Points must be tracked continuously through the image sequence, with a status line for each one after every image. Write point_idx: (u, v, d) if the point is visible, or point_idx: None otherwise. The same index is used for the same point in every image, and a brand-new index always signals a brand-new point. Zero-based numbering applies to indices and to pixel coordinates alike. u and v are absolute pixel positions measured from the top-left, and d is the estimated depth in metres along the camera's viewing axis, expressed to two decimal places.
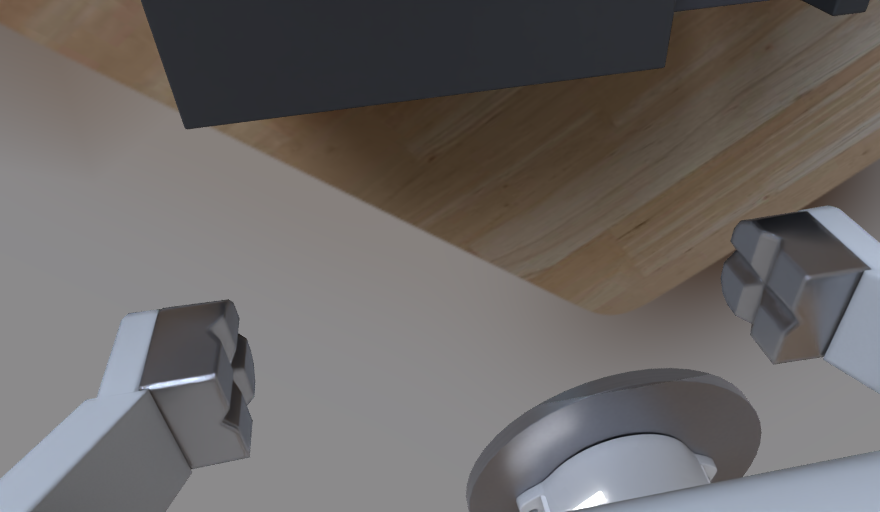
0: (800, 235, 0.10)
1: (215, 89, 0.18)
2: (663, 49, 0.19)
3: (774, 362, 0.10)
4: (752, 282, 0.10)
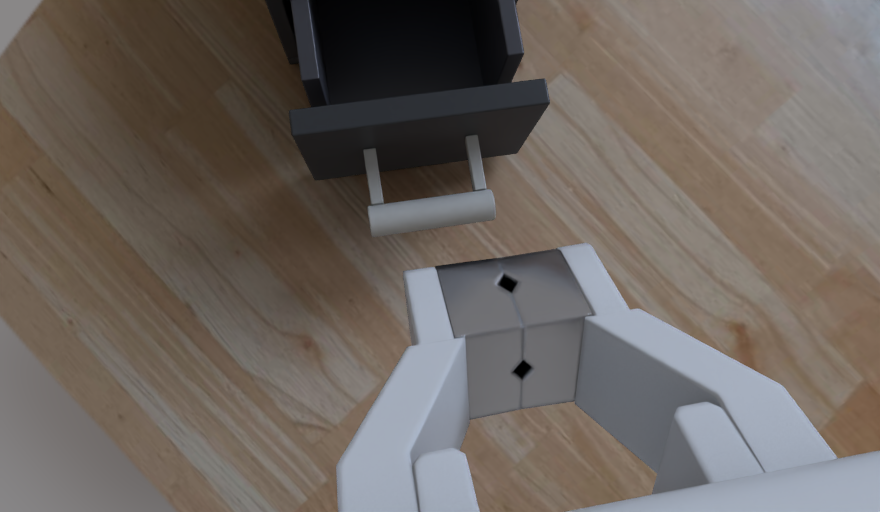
0: (539, 276, 0.09)
1: None
2: None
3: (524, 405, 0.10)
4: None
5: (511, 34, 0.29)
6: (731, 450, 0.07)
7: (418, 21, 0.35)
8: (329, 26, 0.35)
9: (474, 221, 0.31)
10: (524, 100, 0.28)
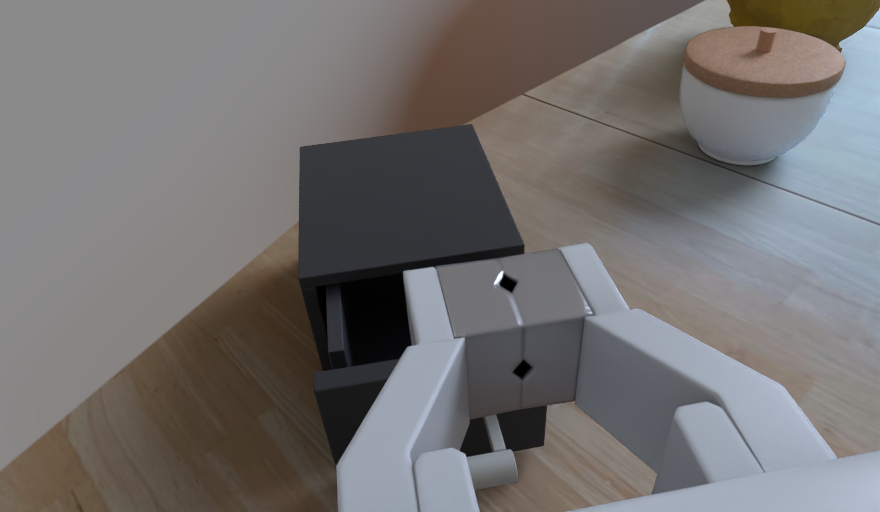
0: (539, 276, 0.09)
1: (315, 152, 0.45)
2: (309, 274, 0.35)
3: (524, 406, 0.10)
4: None
5: None
6: (731, 450, 0.07)
7: None
8: (363, 352, 0.40)
9: (496, 481, 0.29)
10: None
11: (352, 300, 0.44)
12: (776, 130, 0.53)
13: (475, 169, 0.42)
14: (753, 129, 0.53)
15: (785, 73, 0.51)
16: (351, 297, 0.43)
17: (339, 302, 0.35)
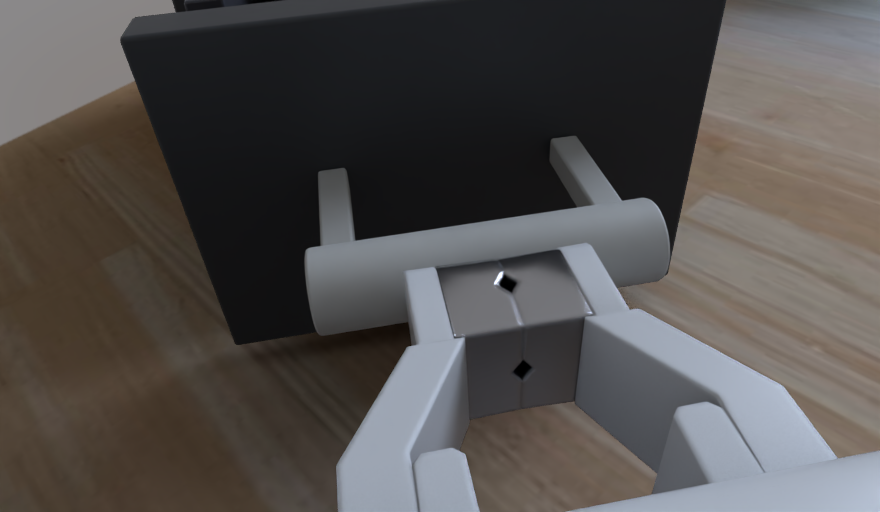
0: (539, 276, 0.09)
1: None
2: None
3: (524, 406, 0.10)
4: None
5: None
6: (730, 450, 0.07)
7: None
8: None
9: (612, 267, 0.11)
10: None
11: None
12: None
13: None
14: None
15: None
16: None
17: None
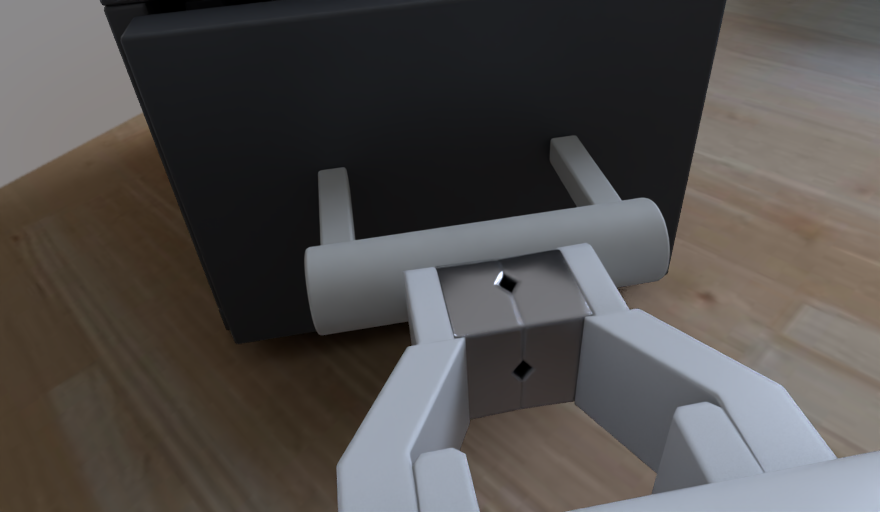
0: (539, 276, 0.09)
1: None
2: None
3: (523, 406, 0.10)
4: None
5: None
6: (730, 450, 0.07)
7: None
8: None
9: (611, 266, 0.11)
10: None
11: None
12: None
13: None
14: None
15: None
16: None
17: None
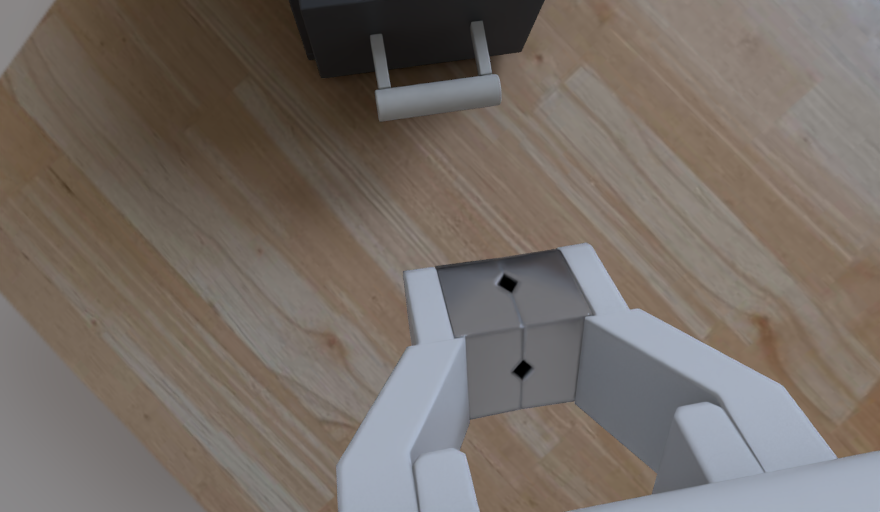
0: (539, 276, 0.09)
1: None
2: None
3: (524, 405, 0.10)
4: None
5: None
6: (731, 450, 0.07)
7: None
8: None
9: (480, 105, 0.31)
10: None
11: None
12: None
13: None
14: None
15: None
16: None
17: None
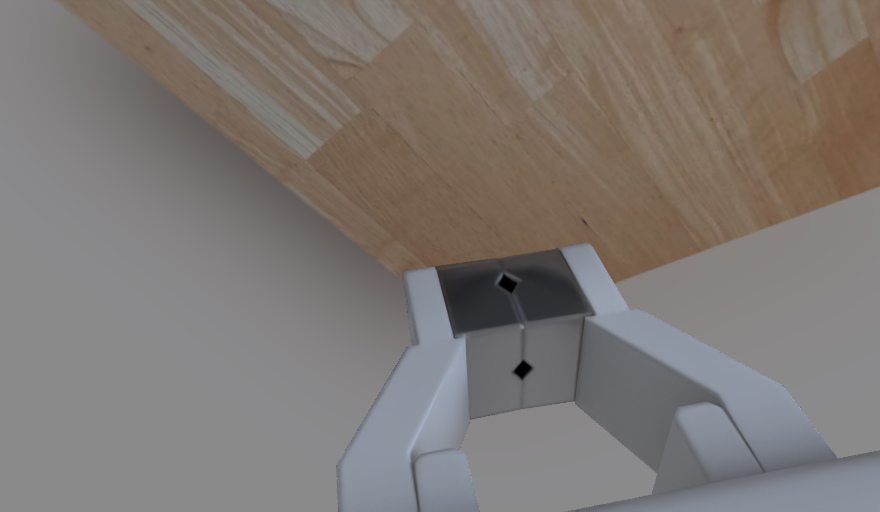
0: (539, 276, 0.09)
1: None
2: None
3: (524, 405, 0.10)
4: None
5: None
6: (731, 450, 0.07)
7: None
8: None
9: None
10: None
11: None
12: None
13: None
14: None
15: None
16: None
17: None
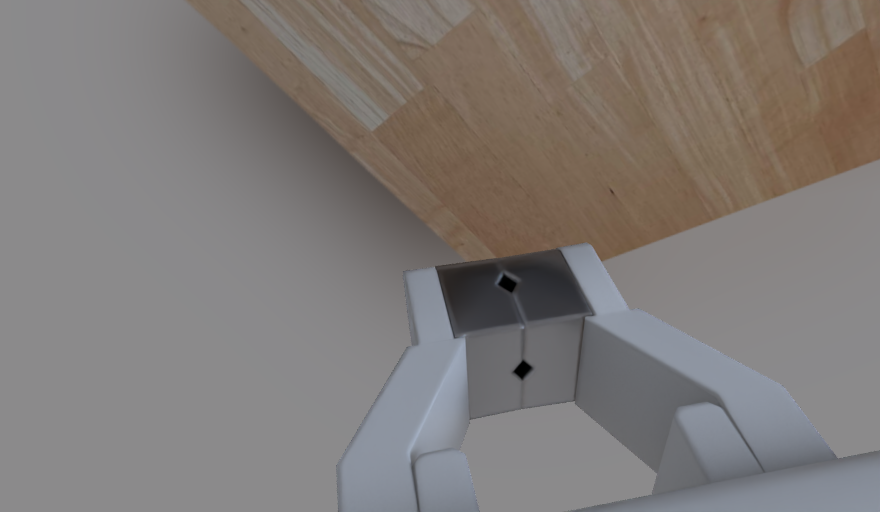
0: (539, 276, 0.09)
1: None
2: None
3: (524, 406, 0.10)
4: None
5: None
6: (731, 450, 0.07)
7: None
8: None
9: None
10: None
11: None
12: None
13: None
14: None
15: None
16: None
17: None
